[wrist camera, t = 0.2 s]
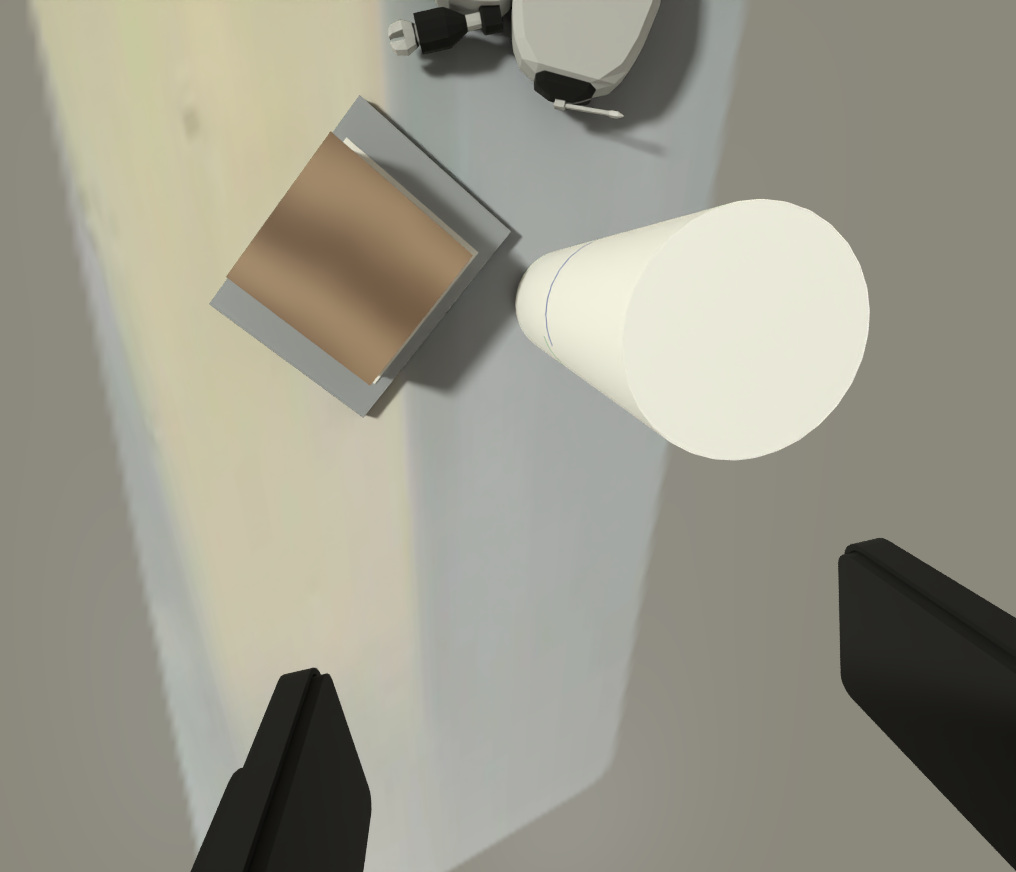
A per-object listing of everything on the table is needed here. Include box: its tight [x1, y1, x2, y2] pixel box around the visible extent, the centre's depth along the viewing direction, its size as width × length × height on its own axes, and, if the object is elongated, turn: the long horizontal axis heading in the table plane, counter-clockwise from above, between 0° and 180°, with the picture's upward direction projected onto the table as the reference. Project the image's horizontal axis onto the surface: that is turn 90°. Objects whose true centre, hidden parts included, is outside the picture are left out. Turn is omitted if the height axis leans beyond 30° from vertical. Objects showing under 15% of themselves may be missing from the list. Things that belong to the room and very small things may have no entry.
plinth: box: [226, 132, 473, 385], centre depth 35 cm, size 10×10×4 cm
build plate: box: [209, 95, 511, 417], centre depth 37 cm, size 16×12×1 cm
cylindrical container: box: [515, 199, 870, 460], centre depth 28 cm, size 7×7×25 cm
